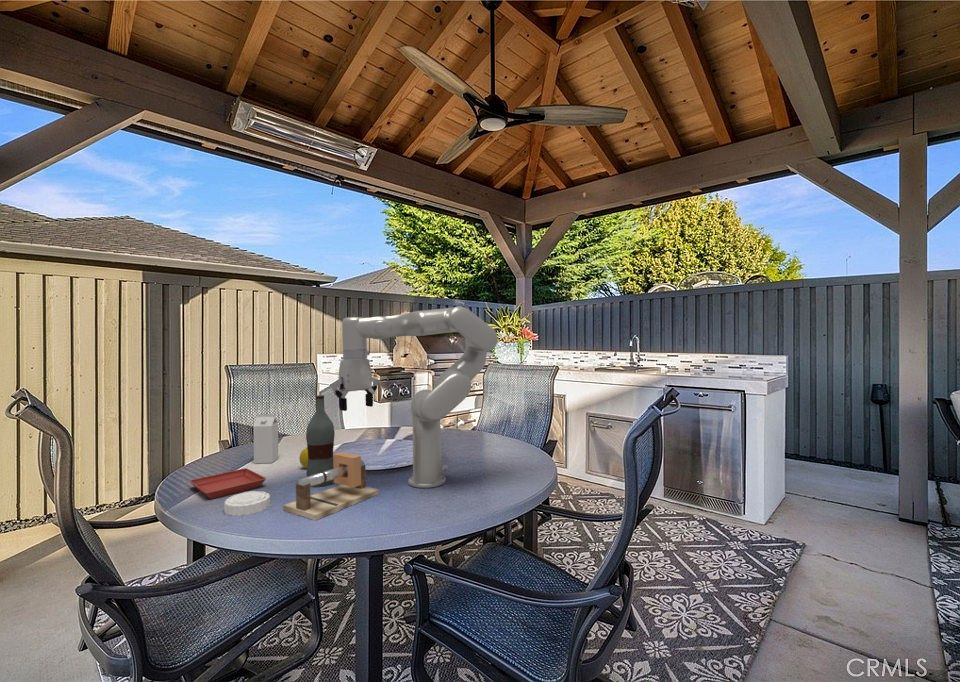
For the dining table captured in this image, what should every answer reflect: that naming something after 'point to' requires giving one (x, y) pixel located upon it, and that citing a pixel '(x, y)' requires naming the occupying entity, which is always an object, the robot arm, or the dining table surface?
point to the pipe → (325, 476)
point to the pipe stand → (329, 499)
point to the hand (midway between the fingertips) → (356, 408)
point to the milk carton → (265, 438)
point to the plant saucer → (228, 483)
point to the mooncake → (247, 503)
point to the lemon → (304, 457)
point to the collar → (353, 469)
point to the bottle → (320, 442)
